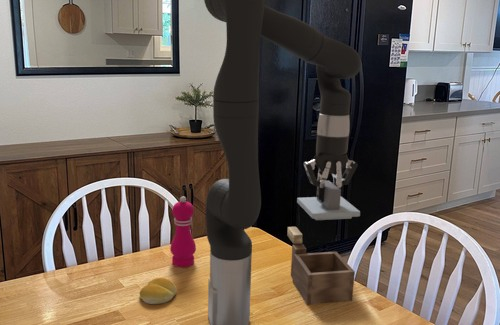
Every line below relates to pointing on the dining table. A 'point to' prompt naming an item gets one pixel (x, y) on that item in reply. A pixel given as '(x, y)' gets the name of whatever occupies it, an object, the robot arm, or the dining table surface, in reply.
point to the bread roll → (158, 291)
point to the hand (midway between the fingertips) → (327, 200)
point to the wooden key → (294, 235)
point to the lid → (329, 205)
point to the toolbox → (321, 276)
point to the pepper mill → (183, 234)
